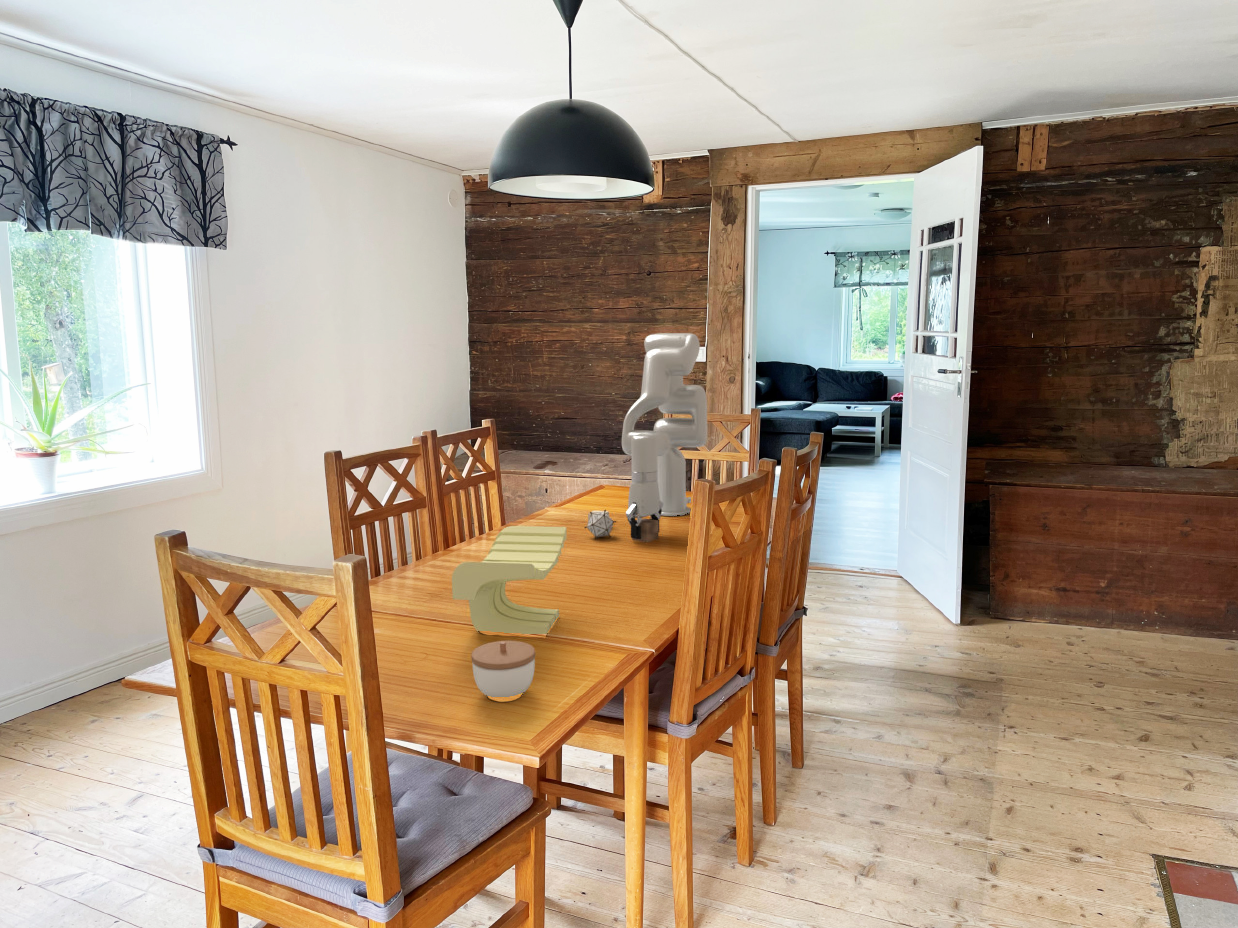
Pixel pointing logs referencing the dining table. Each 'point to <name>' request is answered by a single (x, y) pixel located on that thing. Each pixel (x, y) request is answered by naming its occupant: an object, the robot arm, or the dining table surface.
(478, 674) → the lidded jar
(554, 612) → the slatted curved stool
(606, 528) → the game die
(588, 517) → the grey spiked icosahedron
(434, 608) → the dining table surface
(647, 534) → the walnut block
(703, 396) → the robot arm
